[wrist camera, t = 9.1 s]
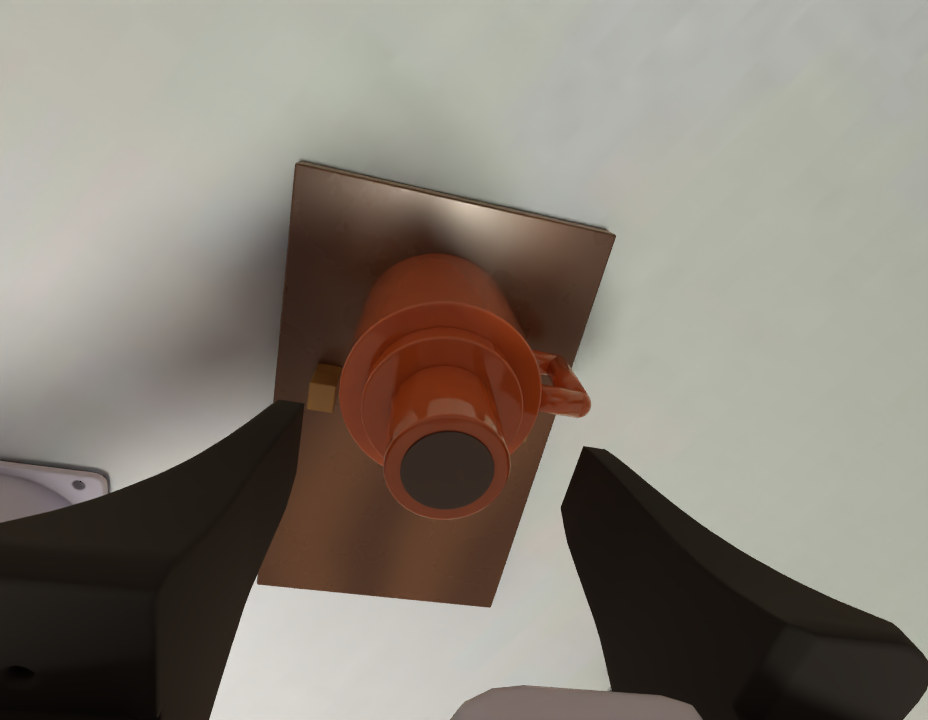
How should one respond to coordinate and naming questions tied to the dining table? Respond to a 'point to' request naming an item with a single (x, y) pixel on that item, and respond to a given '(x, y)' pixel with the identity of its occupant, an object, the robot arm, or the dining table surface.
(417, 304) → the jug
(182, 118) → the dining table surface
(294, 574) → the stand
